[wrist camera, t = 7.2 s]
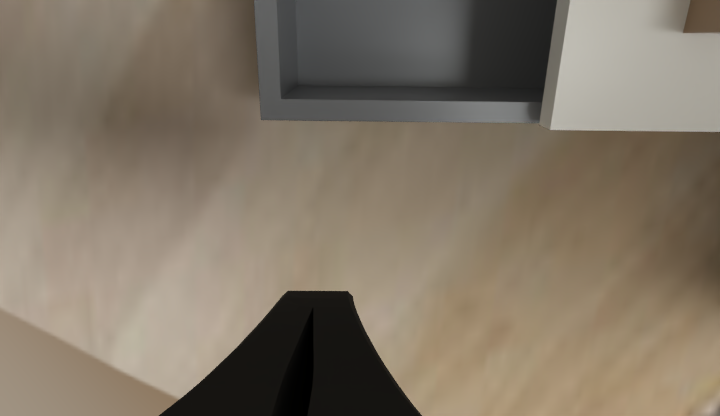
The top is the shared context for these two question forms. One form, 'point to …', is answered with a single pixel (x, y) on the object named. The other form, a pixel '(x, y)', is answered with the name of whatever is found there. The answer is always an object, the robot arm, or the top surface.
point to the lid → (634, 66)
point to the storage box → (403, 59)
